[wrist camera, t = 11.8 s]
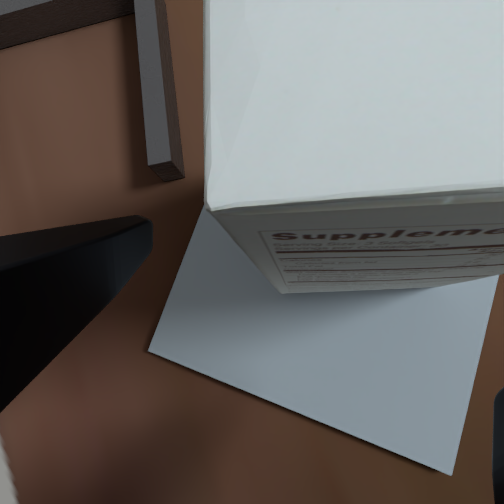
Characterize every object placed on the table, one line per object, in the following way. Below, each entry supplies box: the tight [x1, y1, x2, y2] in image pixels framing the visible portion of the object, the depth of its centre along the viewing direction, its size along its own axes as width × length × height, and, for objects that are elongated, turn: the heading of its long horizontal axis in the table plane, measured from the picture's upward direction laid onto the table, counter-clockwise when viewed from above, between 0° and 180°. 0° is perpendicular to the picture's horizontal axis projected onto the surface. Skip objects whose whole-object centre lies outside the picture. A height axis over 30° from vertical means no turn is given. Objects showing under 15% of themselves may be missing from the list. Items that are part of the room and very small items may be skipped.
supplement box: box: [203, 0, 504, 294], centre depth 10 cm, size 7×7×13 cm
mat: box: [148, 204, 499, 476], centre depth 16 cm, size 14×14×1 cm
